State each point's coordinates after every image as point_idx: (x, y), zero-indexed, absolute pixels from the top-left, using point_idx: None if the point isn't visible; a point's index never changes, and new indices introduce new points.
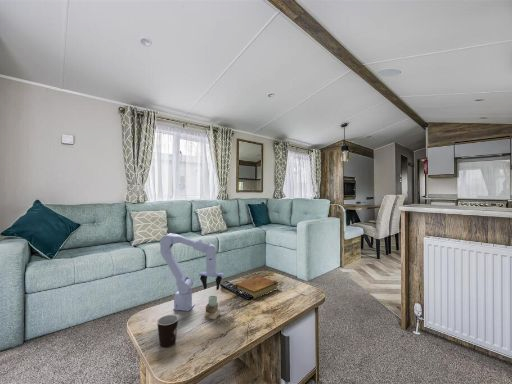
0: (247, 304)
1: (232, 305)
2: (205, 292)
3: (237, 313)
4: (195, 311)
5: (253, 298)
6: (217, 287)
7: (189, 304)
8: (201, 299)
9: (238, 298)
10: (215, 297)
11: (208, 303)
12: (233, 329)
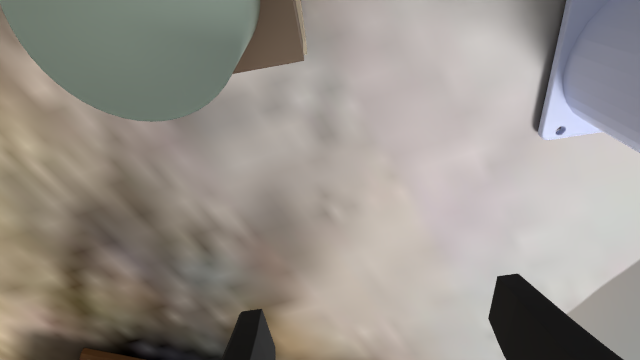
0: (69, 283)
1: (173, 236)
2: None
3: (2, 122)
4: (479, 4)
5: (92, 356)
6: (225, 357)
7: (614, 42)
8: (502, 240)
9: (208, 330)
10: (51, 32)
11: (291, 21)
12: None
